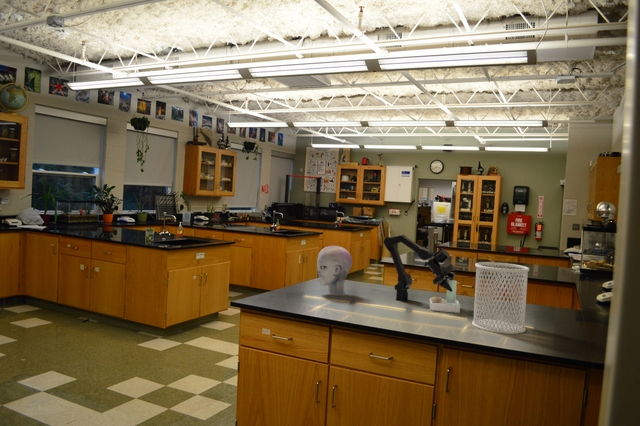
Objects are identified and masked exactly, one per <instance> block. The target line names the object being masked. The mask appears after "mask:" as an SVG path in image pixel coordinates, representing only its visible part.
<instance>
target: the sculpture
mask: <svg viewBox="0 0 640 426" xmlns="http://www.w3.org/2000/svg"><path fill="white" fill-rule="evenodd" d="M352 266H353V258H352V255H351V254H350V252H349V251H348V250H347V249H346V248H344V247H342V246H339V245H328V246H326V247H323V248H322V249H321V250H320V251H319V252H318V256H317V260H316V269H317V276H318V279H319V283H320V285H322V286H324V287H326V286H328V291H327V292H328V295H330V296H346V292H345V280H346V279H347V276H348V274H349V273H350V270H351V268H352Z"/></svg>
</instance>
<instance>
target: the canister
mask: <svg viewBox="0 0 640 426" xmlns="http://www.w3.org/2000/svg"><path fill="white" fill-rule="evenodd" d="M447 282H448V284H449V285H450V287H451V289H452V292H450V291H449V290H447V289H446V298H445V300H446V302H449V303H455V302H456V300H457V297H456V296H457V290H456V289H457V284H458V281H457V280H454V279H453V280H447Z"/></svg>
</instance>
